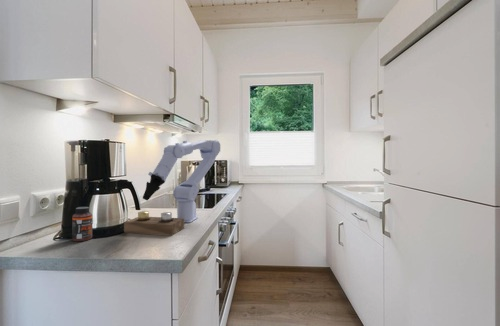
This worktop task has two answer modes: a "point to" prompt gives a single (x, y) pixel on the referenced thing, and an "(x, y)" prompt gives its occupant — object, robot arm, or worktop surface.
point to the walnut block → (154, 226)
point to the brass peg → (143, 216)
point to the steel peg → (166, 217)
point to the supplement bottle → (82, 224)
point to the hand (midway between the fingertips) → (146, 196)
